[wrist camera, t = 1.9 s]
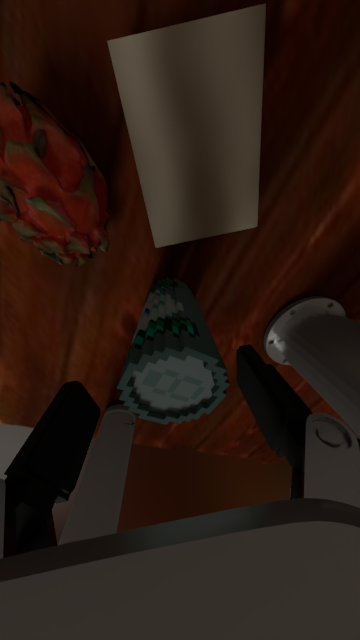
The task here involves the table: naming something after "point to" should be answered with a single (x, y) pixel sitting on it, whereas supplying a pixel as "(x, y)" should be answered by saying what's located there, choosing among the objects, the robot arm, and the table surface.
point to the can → (172, 359)
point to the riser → (195, 121)
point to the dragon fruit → (49, 182)
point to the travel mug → (102, 479)
